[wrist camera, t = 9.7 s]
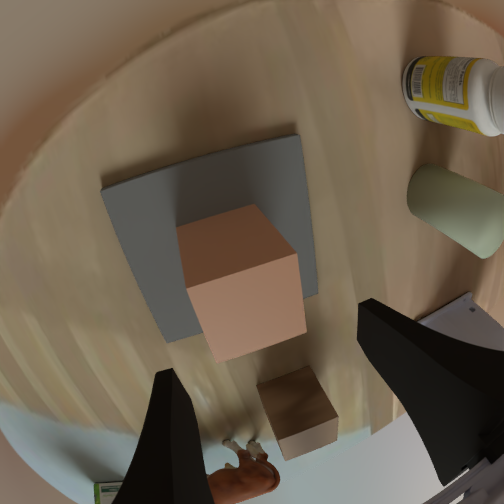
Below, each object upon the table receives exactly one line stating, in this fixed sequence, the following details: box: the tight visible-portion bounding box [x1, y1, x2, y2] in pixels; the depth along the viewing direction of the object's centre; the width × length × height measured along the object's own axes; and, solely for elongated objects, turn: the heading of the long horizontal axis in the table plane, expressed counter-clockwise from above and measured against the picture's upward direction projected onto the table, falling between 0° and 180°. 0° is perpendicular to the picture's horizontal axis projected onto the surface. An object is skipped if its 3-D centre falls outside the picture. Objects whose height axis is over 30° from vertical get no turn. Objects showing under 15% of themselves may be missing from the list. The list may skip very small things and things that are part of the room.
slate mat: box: [100, 134, 318, 343], centre depth 19 cm, size 11×11×1 cm
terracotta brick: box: [176, 204, 307, 363], centre depth 16 cm, size 4×4×6 cm
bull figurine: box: [206, 440, 280, 504], centre depth 27 cm, size 4×13×8 cm, turn 109°
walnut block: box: [256, 366, 339, 461], centre depth 25 cm, size 5×5×6 cm
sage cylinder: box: [407, 164, 504, 259], centre depth 19 cm, size 4×4×7 cm
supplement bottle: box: [402, 56, 504, 136], centre depth 14 cm, size 5×5×8 cm
